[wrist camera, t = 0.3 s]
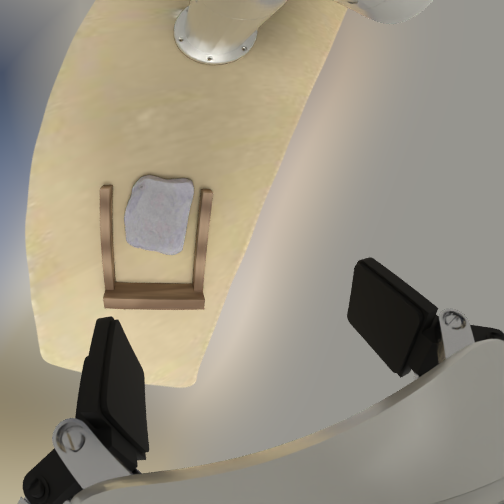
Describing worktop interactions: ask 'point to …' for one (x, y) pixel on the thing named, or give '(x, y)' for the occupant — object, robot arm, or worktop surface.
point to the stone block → (158, 214)
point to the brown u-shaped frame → (153, 293)
